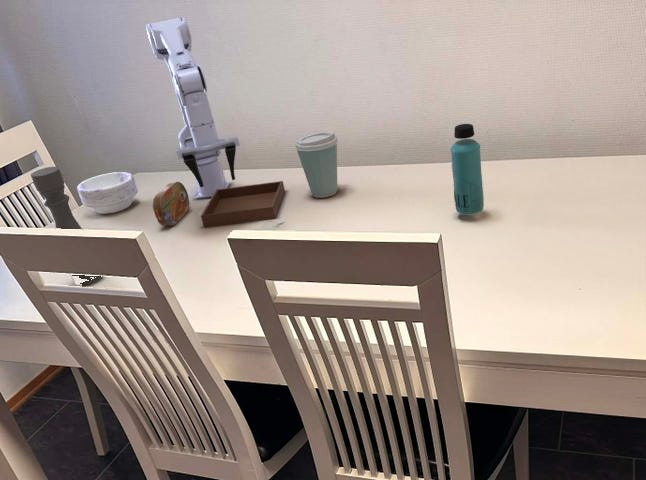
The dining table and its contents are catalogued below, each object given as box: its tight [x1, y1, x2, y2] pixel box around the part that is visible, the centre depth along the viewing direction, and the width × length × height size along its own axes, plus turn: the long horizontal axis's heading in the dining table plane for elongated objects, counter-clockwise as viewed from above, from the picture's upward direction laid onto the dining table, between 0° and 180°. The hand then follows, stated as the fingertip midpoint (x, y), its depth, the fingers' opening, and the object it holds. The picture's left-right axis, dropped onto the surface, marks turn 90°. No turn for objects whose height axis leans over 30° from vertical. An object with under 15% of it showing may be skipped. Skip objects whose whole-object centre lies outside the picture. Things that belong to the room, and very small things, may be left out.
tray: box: [200, 180, 286, 228], centre depth 180 cm, size 18×18×3 cm
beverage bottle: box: [450, 123, 485, 215], centre depth 151 cm, size 6×7×20 cm
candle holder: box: [30, 166, 103, 287], centre depth 151 cm, size 6×6×25 cm
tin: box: [152, 181, 190, 227], centre depth 180 cm, size 15×3×8 cm, turn 168°
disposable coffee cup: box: [295, 130, 339, 199], centre depth 178 cm, size 11×11×15 cm
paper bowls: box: [76, 171, 139, 215], centre depth 195 cm, size 15×15×8 cm
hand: (217, 182), depth 168 cm, fingers open, 7 cm apart
